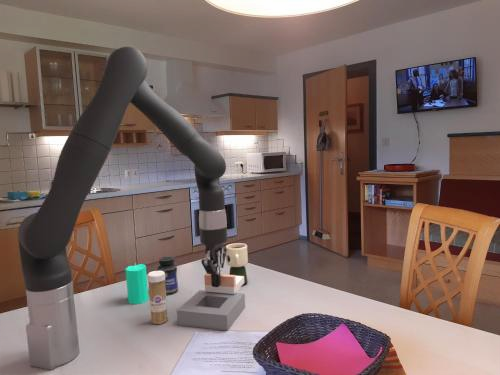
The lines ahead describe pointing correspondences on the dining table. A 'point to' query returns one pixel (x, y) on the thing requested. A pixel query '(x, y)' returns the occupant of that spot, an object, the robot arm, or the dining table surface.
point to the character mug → (237, 259)
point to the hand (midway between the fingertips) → (216, 285)
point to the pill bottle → (169, 274)
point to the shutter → (224, 284)
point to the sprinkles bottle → (157, 297)
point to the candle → (137, 284)
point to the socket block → (211, 310)
